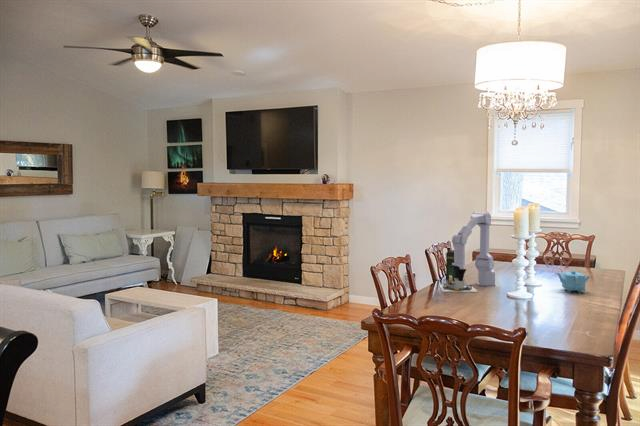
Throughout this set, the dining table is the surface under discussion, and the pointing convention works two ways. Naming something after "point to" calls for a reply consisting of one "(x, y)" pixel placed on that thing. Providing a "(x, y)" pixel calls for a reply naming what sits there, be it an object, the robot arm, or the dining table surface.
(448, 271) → the coffee jar
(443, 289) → the base plate
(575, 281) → the teapot
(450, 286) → the sprocket
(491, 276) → the robot arm
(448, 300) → the dining table surface
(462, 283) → the yellow banded block
